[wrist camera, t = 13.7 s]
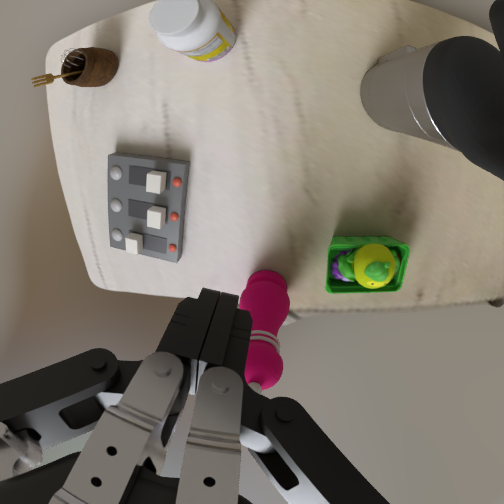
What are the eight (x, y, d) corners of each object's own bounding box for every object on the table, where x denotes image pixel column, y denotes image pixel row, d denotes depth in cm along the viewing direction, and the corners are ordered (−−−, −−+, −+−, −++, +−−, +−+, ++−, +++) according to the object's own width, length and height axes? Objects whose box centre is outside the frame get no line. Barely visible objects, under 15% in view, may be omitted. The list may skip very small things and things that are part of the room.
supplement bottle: (194, 16, 25) (152, -18, 14) (243, 23, 25) (221, -16, 14) (179, 59, 28) (130, 41, 17) (227, 67, 29) (197, 47, 18)
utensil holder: (125, 71, 29) (70, 67, 19) (94, 95, 31) (37, 101, 21) (112, 42, 27) (58, 32, 17) (83, 67, 29) (27, 66, 18)
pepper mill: (234, 279, 44) (204, 386, 26) (274, 259, 41) (263, 370, 24) (260, 310, 46) (244, 416, 29) (298, 293, 44) (299, 403, 26)
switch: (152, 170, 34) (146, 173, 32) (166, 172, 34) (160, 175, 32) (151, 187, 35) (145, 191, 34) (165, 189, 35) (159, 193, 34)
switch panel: (115, 152, 35) (107, 155, 34) (189, 161, 35) (184, 165, 33) (116, 240, 43) (109, 247, 41) (181, 256, 43) (176, 263, 41)
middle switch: (152, 205, 36) (147, 210, 35) (165, 208, 36) (160, 212, 35) (152, 221, 38) (147, 226, 36) (165, 223, 38) (160, 229, 36)
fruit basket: (321, 274, 42) (329, 325, 32) (324, 219, 37) (336, 262, 28) (390, 272, 40) (414, 320, 30) (399, 220, 36) (432, 260, 26)
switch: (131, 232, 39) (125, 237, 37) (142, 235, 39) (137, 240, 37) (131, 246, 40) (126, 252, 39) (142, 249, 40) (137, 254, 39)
